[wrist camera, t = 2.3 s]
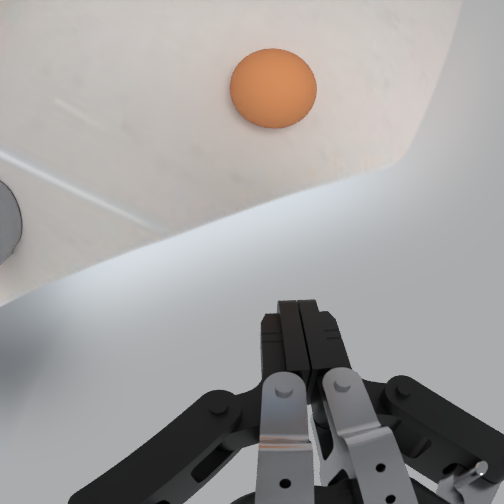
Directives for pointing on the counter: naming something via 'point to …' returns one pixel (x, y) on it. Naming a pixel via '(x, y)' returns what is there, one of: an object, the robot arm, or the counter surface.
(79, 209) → the counter surface
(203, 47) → the counter surface
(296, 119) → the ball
